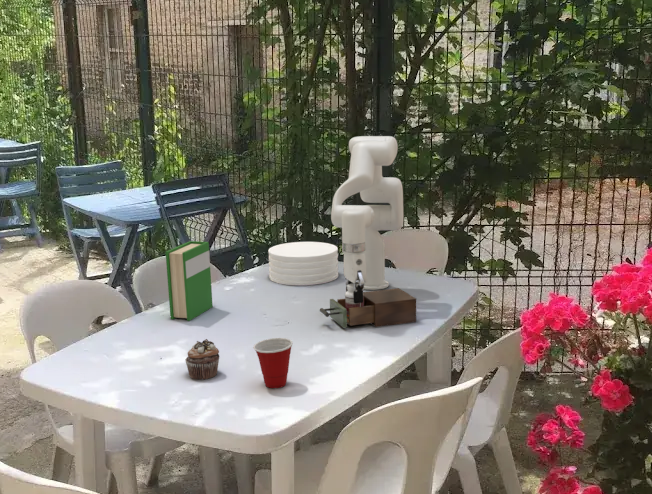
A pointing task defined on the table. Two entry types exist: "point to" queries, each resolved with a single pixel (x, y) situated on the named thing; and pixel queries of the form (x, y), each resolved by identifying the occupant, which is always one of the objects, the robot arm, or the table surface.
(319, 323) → the table surface
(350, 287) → the pill bottle
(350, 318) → the drawer
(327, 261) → the plate stack
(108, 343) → the table surface
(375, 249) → the robot arm
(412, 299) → the cabinet
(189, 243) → the hardback book
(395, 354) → the table surface
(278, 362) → the plastic cup
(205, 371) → the cupcake
